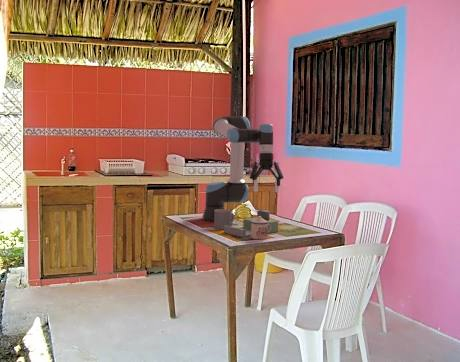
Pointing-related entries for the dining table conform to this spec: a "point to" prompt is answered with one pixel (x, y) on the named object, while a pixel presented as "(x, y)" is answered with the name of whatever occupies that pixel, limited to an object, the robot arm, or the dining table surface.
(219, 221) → the coffee mug
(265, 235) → the teacup with lid
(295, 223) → the dining table surface
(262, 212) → the grey green blocky piece
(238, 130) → the robot arm
